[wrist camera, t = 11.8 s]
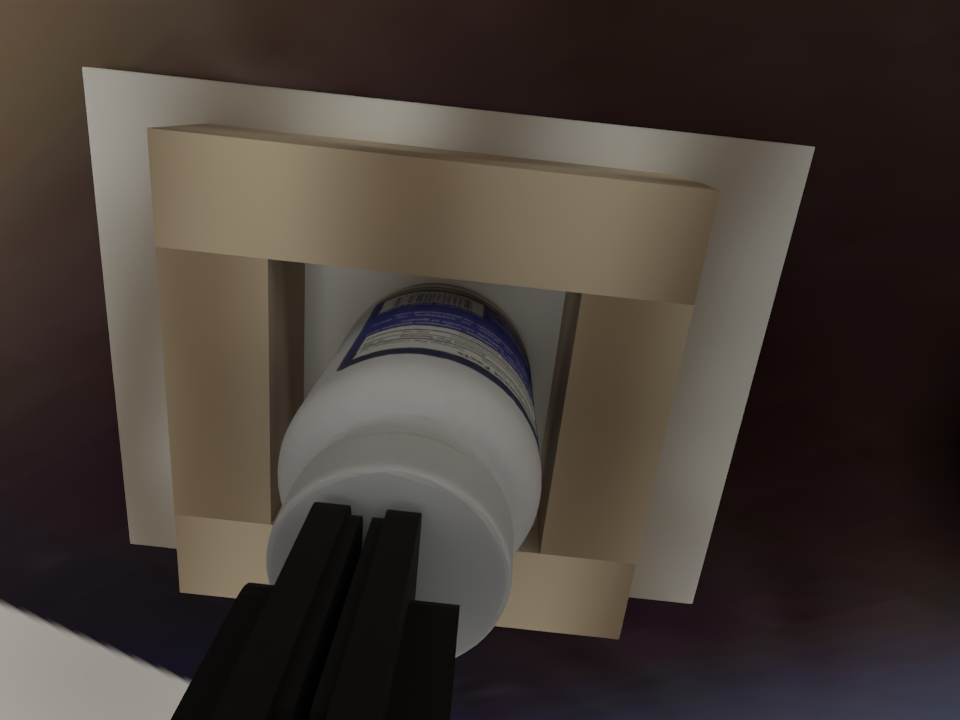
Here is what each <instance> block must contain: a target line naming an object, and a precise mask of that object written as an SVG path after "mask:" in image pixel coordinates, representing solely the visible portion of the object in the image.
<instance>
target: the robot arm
mask: <svg viewBox="0 0 960 720" xmlns="http://www.w3.org/2000/svg"><path fill="white" fill-rule="evenodd" d="M421 523H422V513H418V512H408V511H399V510H390V509H388V510H387V511H386V514H385V518H376V517H373V518H372V520H371V522H370V525H369V529H368V532H367V535H366V538H365V541H364V544H363V547H362V534H363V517H362V516H357V515H351V506H350V505H343V504H334V503H325V502H314V503H313V505H312V507H311V509H310V511H309V513H308V515H307V517H306V519H305V522H304V524H303V526H302V528H301V530H300V532H299V534H298V536H297V538H296V540H295V542H294V545H293V547H292V549H291V551H290V553H289V555H288V557H287V559H286V561H285V563H284V565H283V568H282V570H281V572H280V574H279V576H278V578H277V580H276V582H275V584H274V585H269V584H259V583H250V582H249V583H247V584H246V585H244V587H243V588H242V590H241V591H240V593H239V594H238V596H237V598H236V600H235V602H234V604H233V605H232V607H231V609H230V611H229V613H228V615H227V616H226V618H225V620H224V622H223V624H222V626H221V628H220V629H219V631H218V633H217V635H216V637H215V639H214V641H213V642H212V644H211V646H210V648H209V650H208V652H207V653H206V655H205V657H204V659H203V661H202V663H201V665H200V666H199V668H198V670H197V672H196V674H195V676H194V677H193V679H192V681H191V683H190V685H189V687H188V689H187V690H186V692H185V694H184V696H183V698H182V700H181V701H180V704H179V705H178V707H177V709H176V711H175V713H174V714H173V716H172V718H171V720H450V710H451V699H452V688H453V677H454V666H455V655H456V644H457V633H458V622H459V611H460V605H456V604H446V603H437V602H428V601H418V600H415V595H416V583H417V571H418V559H419V547H420V535H421Z"/></svg>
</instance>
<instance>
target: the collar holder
mask: <svg viewBox="0 0 960 720" xmlns="http://www.w3.org/2000/svg"><path fill="white" fill-rule="evenodd" d="M82 71H83V81H84V91H85V101H86V111H87V121H88V131H89V140H90V150H91V160H92V170H93V180H94V190H95V200H96V210H97V220H98V229H99V239H100V249H101V259H102V269H103V279H104V289H105V299H106V308H107V318H108V328H109V338H110V348H111V358H112V368H113V378H114V387H115V397H116V407H117V417H118V427H119V437H120V447H121V457H122V467H123V476H124V486H125V496H126V506H127V516H128V526H129V536H130V544H139V545H148V546H158V547H167V548H176V549H177V557H178V571H179V585H180V592H182V593H191V594H201V595H210V596H219V597H229V598H237V596H238V594H239V593H240V591H241V590H242V588H243V587H244V585H246V584H247V583H249V582H250V583H259V584H269V580H268V576H267V570H266V552H267V545H268V540H269V536H270V533H271V530H272V527H273V524H274V522H275V520H276V518H277V516H278V514H279V511H280V509H281V507H282V502H281V498H280V493H279V488H278V461H279V455H280V449H281V445H282V442H283V439H284V436H285V433H286V431H287V429H288V427H289V425H290V423H291V421H292V419H293V418H294V416H295V414H296V412H297V410H298V409H299V408H300V406H301V405H302V404H303V402H304V401H305V399H306V398H307V396H308V395H309V393H310V391H311V390H312V388H313V387H314V385H315V384H316V382H317V381H318V379H319V378H320V376H321V375H322V373H323V372H324V370H325V369H326V368H327V366H328V365H329V363H330V361H331V360H332V358H333V357H334V355H335V354H336V352H337V351H338V349H339V348H340V346H341V344H342V343H343V341H344V340H345V338H346V336H347V335H348V333H349V332H350V330H351V329H352V327H353V326H354V324H355V323H356V321H357V320H358V319H359V318H360V317H361V316H362V314H363V313H364V312H365V311H367V310H368V309H369V308H370V307H371V306H372V305H374V304H375V303H376V302H378V301H379V300H381V299H382V298H384V297H386V296H388V295H390V294H392V293H394V292H396V291H399V290H401V289H404V288H408V287H412V286H418V285H427V284H440V285H449V286H454V287H458V288H462V289H465V290H468V291H471V292H473V293H475V294H477V295H479V296H481V297H483V298H485V299H486V300H488V301H489V302H491V303H492V304H494V305H495V306H496V307H497V308H498V309H500V310H501V311H502V312H503V313H504V314H505V315H506V316H507V317H508V319H509V320H510V321H511V322H512V324H513V325H514V326H515V328H516V329H517V331H518V333H519V334H520V336H521V338H522V341H523V343H524V345H525V348H526V351H527V354H528V358H529V364H530V371H531V380H532V390H533V399H534V409H535V416H536V425H537V433H538V442H539V450H540V458H541V473H542V476H541V496H540V502H539V507H538V510H537V514H536V517H535V520H534V523H533V525H532V527H531V529H530V531H529V533H528V535H527V536H526V538H525V540H524V541H523V543H522V545H521V546H520V547H519V549H518V550H517V551H516V553H515V554H514V555H513V574H512V585H511V589H510V594H509V598H508V601H507V604H506V606H505V609H504V611H503V613H502V615H501V617H500V618H499V620H498V622H497V623H496V624H495V626H499V627H509V628H518V629H527V630H537V631H546V632H555V633H565V634H574V635H583V636H593V637H602V638H611V639H619V637H620V633H621V628H622V624H623V619H624V615H625V611H626V606H627V602H628V597H633V598H642V599H651V600H661V601H670V602H679V603H689V604H692V603H693V599H694V596H695V592H696V588H697V585H698V581H699V577H700V573H701V570H702V566H703V562H704V559H705V555H706V551H707V547H708V544H709V540H710V536H711V532H712V529H713V525H714V521H715V518H716V514H717V510H718V506H719V503H720V499H721V495H722V492H723V488H724V484H725V480H726V477H727V473H728V469H729V466H730V462H731V458H732V454H733V451H734V447H735V443H736V439H737V436H738V432H739V428H740V425H741V421H742V417H743V413H744V410H745V406H746V402H747V399H748V395H749V391H750V387H751V384H752V380H753V376H754V373H755V369H756V365H757V361H758V358H759V354H760V350H761V346H762V343H763V339H764V335H765V332H766V328H767V324H768V320H769V317H770V313H771V309H772V306H773V302H774V298H775V294H776V291H777V287H778V283H779V280H780V276H781V272H782V268H783V265H784V261H785V257H786V253H787V250H788V246H789V242H790V239H791V235H792V231H793V227H794V224H795V220H796V216H797V213H798V209H799V205H800V201H801V198H802V194H803V190H804V187H805V183H806V179H807V175H808V172H809V168H810V164H811V160H812V157H813V153H814V149H815V147H811V146H804V145H797V144H788V143H779V142H770V141H761V140H752V139H743V138H734V137H725V136H715V135H706V134H697V133H688V132H679V131H670V130H661V129H652V128H642V127H633V126H624V125H615V124H606V123H597V122H588V121H579V120H569V119H560V118H551V117H542V116H533V115H524V114H515V113H506V112H496V111H487V110H478V109H469V108H460V107H451V106H442V105H433V104H424V103H414V102H405V101H396V100H387V99H378V98H369V97H360V96H351V95H341V94H332V93H323V92H314V91H305V90H296V89H287V88H278V87H268V86H259V85H250V84H241V83H232V82H223V81H214V80H205V79H195V78H186V77H177V76H168V75H159V74H150V73H141V72H132V71H123V70H113V69H104V68H92V67H82ZM269 585H270V584H269Z"/></svg>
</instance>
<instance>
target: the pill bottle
mask: <svg viewBox="0 0 960 720" xmlns="http://www.w3.org/2000/svg"><path fill="white" fill-rule="evenodd" d="M541 476H542V473H541V458H540V450H539V442H538V433H537V425H536V416H535V409H534V399H533V390H532V380H531V371H530V364H529V358H528V354H527V351H526V348H525V345H524V343H523V341H522V338H521V336H520V334H519V333H518V331H517V329H516V328H515V326H514V325H513V324H512V322H511V321H510V320H509V319H508V317H507V316H506V315H505V314H504V313H503V312H502V311H501V310H500V309H498V308H497V307H496V306H495V305H494V304H492V303H491V302H489V301H488V300H486V299H485V298H483V297H481V296H479V295H477V294H475V293H473V292H471V291H468V290H465V289H462V288H458V287H454V286H449V285H440V284H427V285H418V286H412V287H408V288H404V289H401V290H399V291H396V292H394V293H392V294H390V295H388V296H386V297H384V298H382V299H381V300H379V301H378V302H376V303H375V304H374V305H372V306H371V307H370V308H369V309H368V310H367V311H365V312H364V313H363V314H362V316H361V317H360V318H359V319H358V320H357V321H356V323H355V324H354V326H353V327H352V329H351V330H350V332H349V333H348V335H347V336H346V338H345V340H344V341H343V343H342V344H341V346H340V348H339V349H338V351H337V352H336V354H335V355H334V357H333V358H332V360H331V361H330V363H329V365H328V366H327V368H326V369H325V370H324V372H323V373H322V375H321V376H320V378H319V379H318V381H317V382H316V384H315V385H314V387H313V388H312V390H311V391H310V393H309V395H308V396H307V398H306V399H305V401H304V402H303V404H302V405H301V406H300V408H299V409H298V410H297V412H296V414H295V416H294V418H293V419H292V421H291V423H290V425H289V427H288V429H287V431H286V433H285V436H284V439H283V442H282V445H281V449H280V455H279V461H278V488H279V493H280V498H281V502H282V507H281V509H280V511H279V514H278V516H277V518H276V520H275V522H274V524H273V527H272V530H271V533H270V536H269V540H268V545H267V552H266V570H267V576H268V580H269V584H270V585H274V584H275V582H276V580H277V578H278V576H279V574H280V572H281V570H282V568H283V565H284V563H285V561H286V559H287V557H288V555H289V553H290V551H291V549H292V547H293V545H294V542H295V540H296V538H297V536H298V534H299V532H300V530H301V528H302V526H303V524H304V522H305V519H306V517H307V515H308V513H309V511H310V509H311V507H312V505H313V503H314V502H325V503H334V504H343V505H350V506H351V515H357V516H362V517H363V534H362V547H363V544H364V541H365V538H366V535H367V532H368V529H369V525H370V522H371V520H372V518H373V517H376V518H385V514H386V511H387V510H388V509H390V510H399V511H408V512H418V513H422V523H421V535H420V547H419V559H418V571H417V583H416V595H415V600H418V601H428V602H437V603H446V604H456V605H460V611H459V622H458V633H457V644H456V655H455V658H456V657H458V656H460V655H462V654H463V653H465V652H467V651H468V650H470V649H471V648H473V647H474V646H475V645H477V644H478V643H479V642H480V641H481V640H482V639H484V638H485V637H486V636H487V634H488V633H489V632H490V631H491V630H492V629H493V627H494V626H495V624H496V623H497V622H498V620H499V618H500V617H501V615H502V613H503V611H504V609H505V606H506V604H507V601H508V598H509V594H510V589H511V585H512V574H513V555H514V554H515V553H516V551H517V550H518V549H519V547H520V546H521V545H522V543H523V541H524V540H525V538H526V536H527V535H528V533H529V531H530V529H531V527H532V525H533V523H534V520H535V517H536V514H537V510H538V507H539V502H540V496H541Z"/></svg>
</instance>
